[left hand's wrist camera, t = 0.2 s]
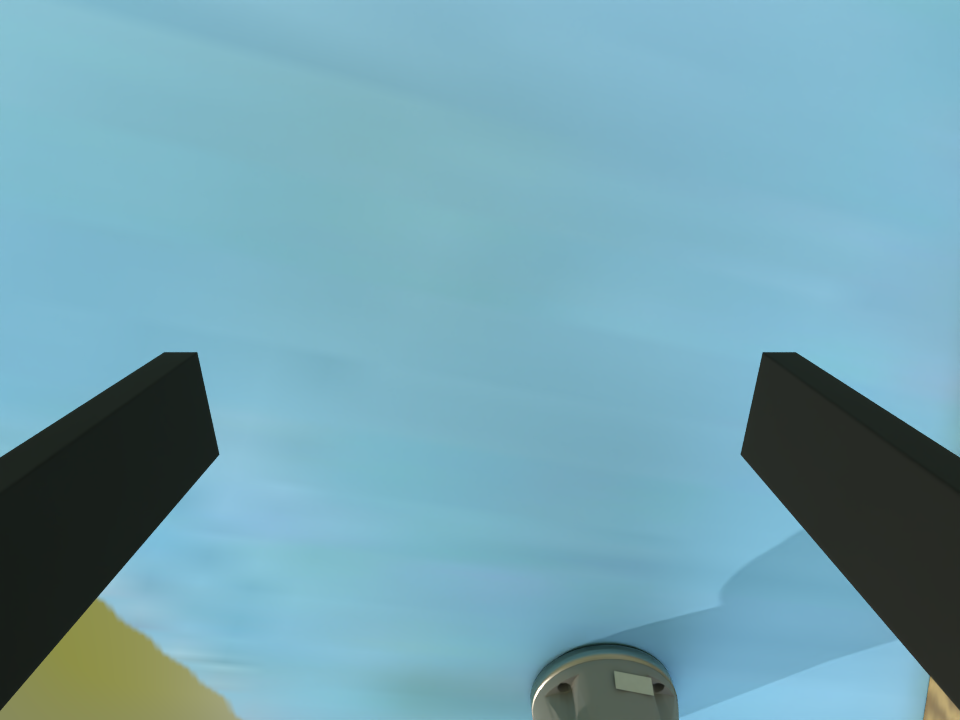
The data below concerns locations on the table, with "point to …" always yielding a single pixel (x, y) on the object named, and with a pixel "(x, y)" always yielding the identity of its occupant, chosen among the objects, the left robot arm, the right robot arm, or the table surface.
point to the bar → (939, 704)
